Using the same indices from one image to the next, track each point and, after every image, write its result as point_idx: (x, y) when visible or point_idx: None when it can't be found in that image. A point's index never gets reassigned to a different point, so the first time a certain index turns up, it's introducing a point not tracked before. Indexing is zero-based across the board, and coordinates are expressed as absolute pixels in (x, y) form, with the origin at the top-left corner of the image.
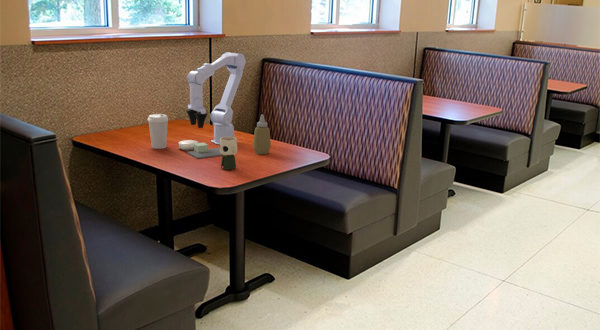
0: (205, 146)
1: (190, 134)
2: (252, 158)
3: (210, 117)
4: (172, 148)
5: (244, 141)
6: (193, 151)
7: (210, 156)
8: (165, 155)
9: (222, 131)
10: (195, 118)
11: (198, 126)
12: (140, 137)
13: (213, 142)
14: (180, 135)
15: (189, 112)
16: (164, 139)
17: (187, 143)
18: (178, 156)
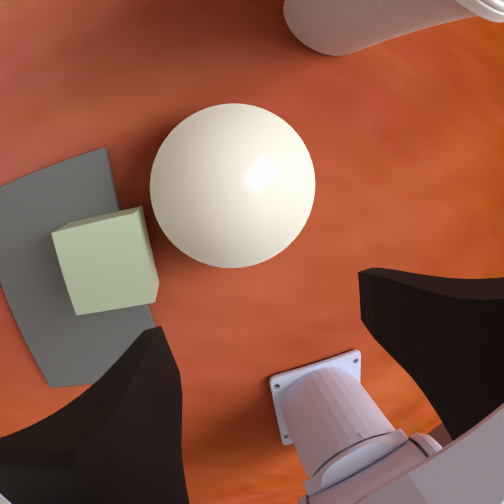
0: (71, 290)
1: (493, 266)
2: (7, 429)
3: (430, 447)
4: (269, 76)
5: (292, 466)
6: (100, 195)
7: (2, 281)
8: (101, 13)
9: (301, 450)
10: (407, 359)
11: (137, 337)
12: (496, 45)
13: (323, 360)
14: (497, 218)
15: (495, 323)
16: (310, 10)
17: (199, 168)
18: (49, 86)
